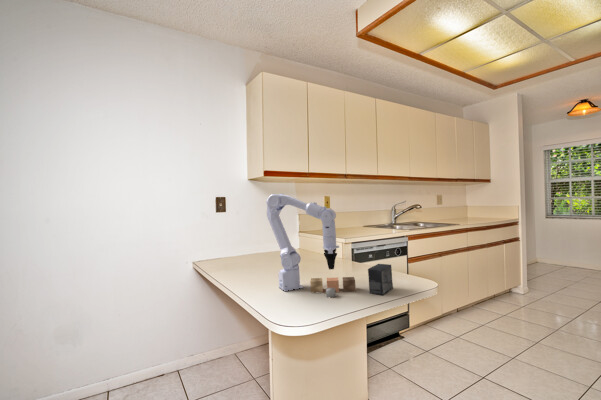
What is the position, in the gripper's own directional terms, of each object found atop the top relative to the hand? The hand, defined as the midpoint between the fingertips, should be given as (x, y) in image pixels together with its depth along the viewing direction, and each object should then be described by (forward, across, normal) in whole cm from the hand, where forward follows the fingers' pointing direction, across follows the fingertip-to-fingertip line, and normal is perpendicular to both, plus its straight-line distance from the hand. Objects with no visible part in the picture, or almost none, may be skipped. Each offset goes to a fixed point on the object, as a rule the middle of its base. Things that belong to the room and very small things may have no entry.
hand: (331, 267), depth 130 cm
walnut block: (+10, -1, -7) cm, 12 cm away
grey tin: (+10, -8, +1) cm, 13 cm away
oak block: (+10, -1, +7) cm, 12 cm away
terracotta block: (+10, -1, 0) cm, 10 cm away
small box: (+10, -4, -20) cm, 23 cm away
